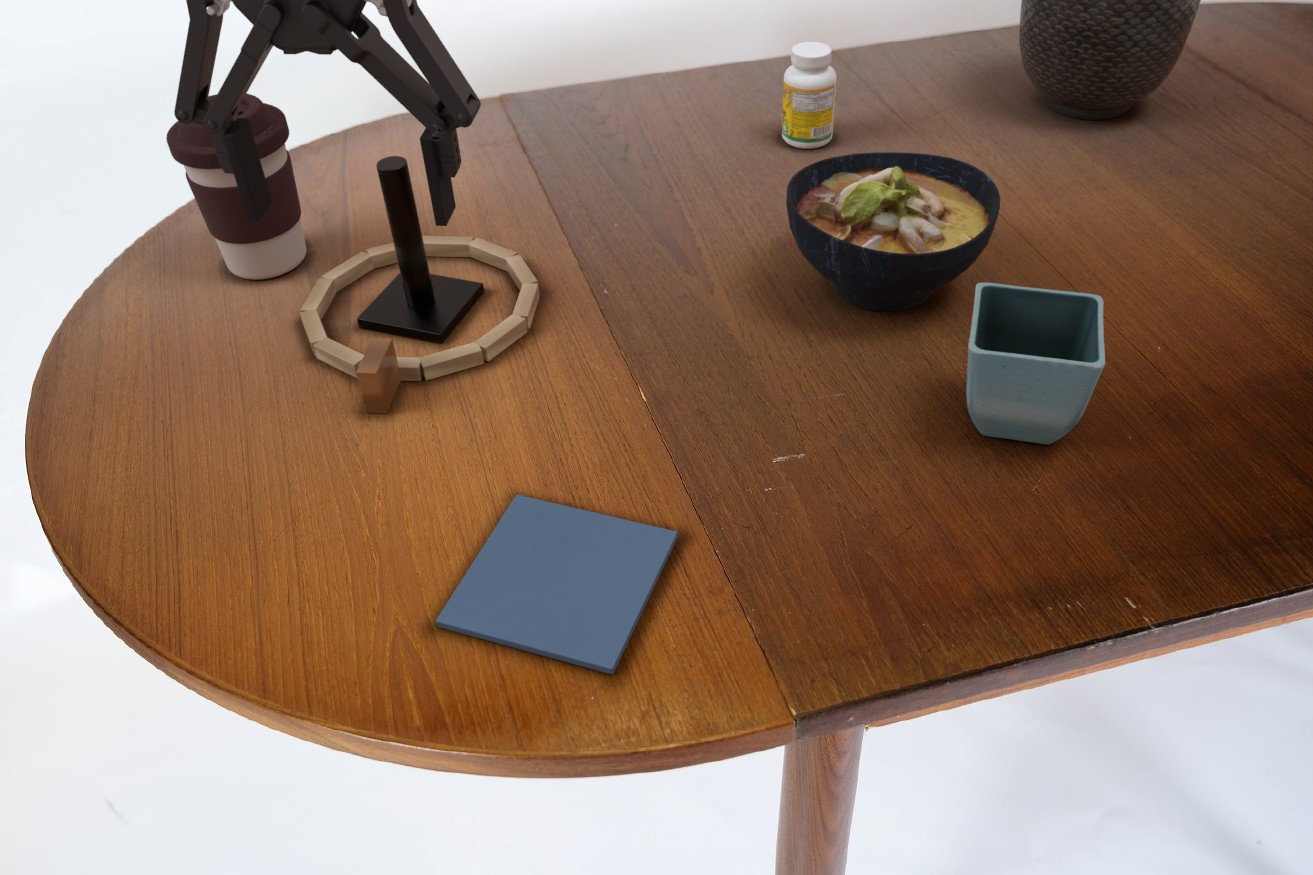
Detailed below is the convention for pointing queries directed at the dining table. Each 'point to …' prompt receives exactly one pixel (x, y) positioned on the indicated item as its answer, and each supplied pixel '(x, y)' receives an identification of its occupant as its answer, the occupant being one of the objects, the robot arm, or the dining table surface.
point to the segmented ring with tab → (380, 363)
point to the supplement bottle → (809, 96)
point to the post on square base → (414, 272)
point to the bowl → (891, 223)
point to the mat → (560, 583)
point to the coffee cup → (241, 242)
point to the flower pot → (1032, 360)
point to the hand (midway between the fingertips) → (352, 214)
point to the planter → (1101, 51)
